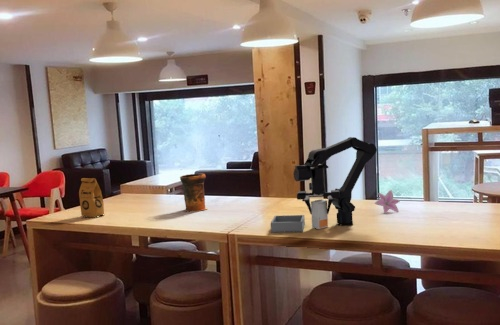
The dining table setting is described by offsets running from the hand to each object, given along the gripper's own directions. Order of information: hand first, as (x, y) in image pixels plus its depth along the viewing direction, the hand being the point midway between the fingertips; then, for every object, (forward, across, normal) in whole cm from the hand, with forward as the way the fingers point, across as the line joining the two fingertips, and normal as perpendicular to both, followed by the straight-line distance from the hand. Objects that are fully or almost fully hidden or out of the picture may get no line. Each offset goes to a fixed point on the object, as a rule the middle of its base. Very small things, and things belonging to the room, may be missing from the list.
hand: (319, 214), depth 209 cm
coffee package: (+6, +129, -36) cm, 134 cm away
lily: (+6, -32, -30) cm, 44 cm away
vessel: (+6, +72, -47) cm, 86 cm away
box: (+6, +14, +1) cm, 15 cm away
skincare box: (+6, 0, 0) cm, 6 cm away
